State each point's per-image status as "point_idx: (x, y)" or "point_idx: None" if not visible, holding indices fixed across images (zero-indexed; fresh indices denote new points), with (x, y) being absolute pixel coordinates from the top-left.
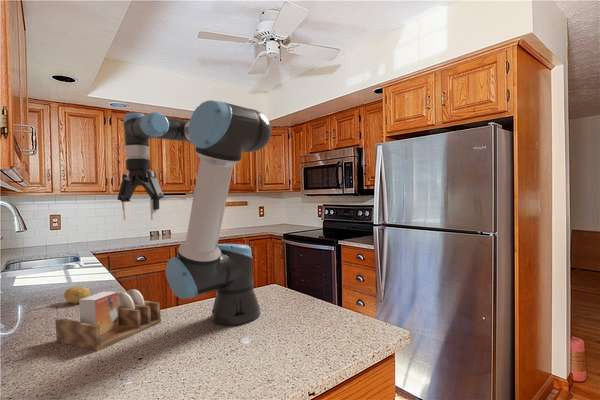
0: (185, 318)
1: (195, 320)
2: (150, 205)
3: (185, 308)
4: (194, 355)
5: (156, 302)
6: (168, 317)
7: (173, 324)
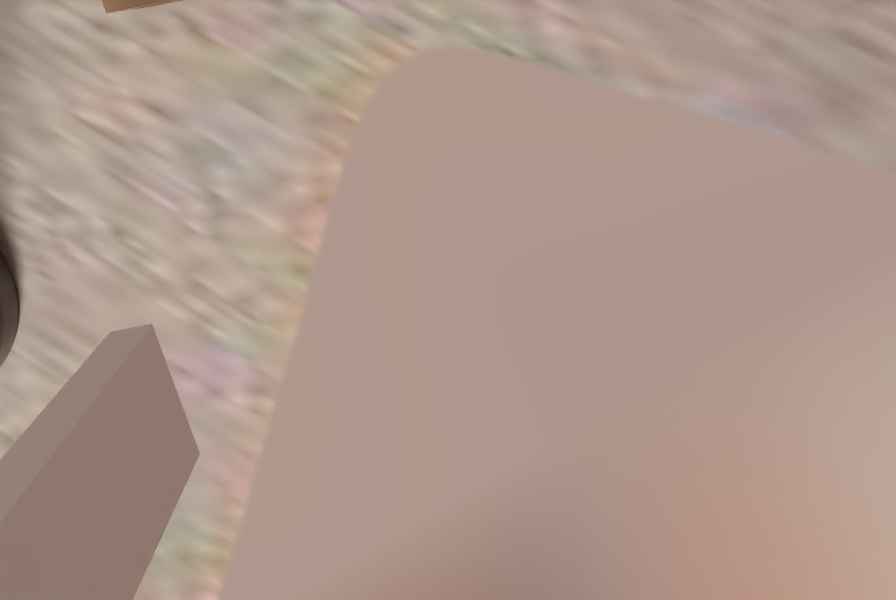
0: (92, 125)
1: (11, 136)
2: (14, 493)
3: (259, 227)
4: None
5: (132, 3)
6: (196, 82)
7: (55, 30)
